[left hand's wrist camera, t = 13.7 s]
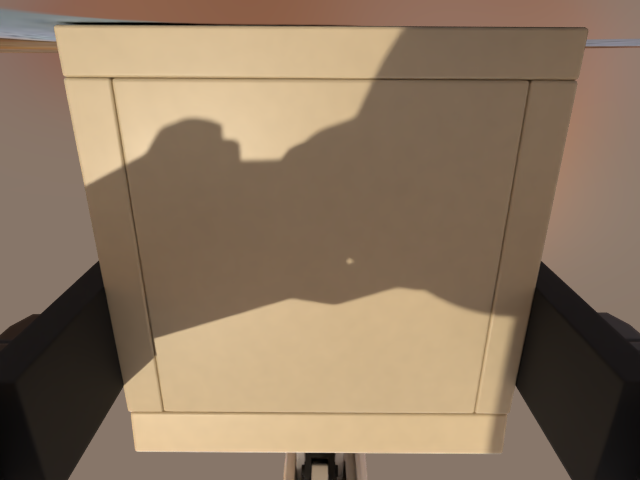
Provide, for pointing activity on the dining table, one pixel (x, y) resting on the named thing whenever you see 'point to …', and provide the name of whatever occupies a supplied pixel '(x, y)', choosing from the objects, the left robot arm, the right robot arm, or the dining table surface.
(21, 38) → the dining table surface
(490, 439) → the lid
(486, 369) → the chest
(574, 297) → the left robot arm
